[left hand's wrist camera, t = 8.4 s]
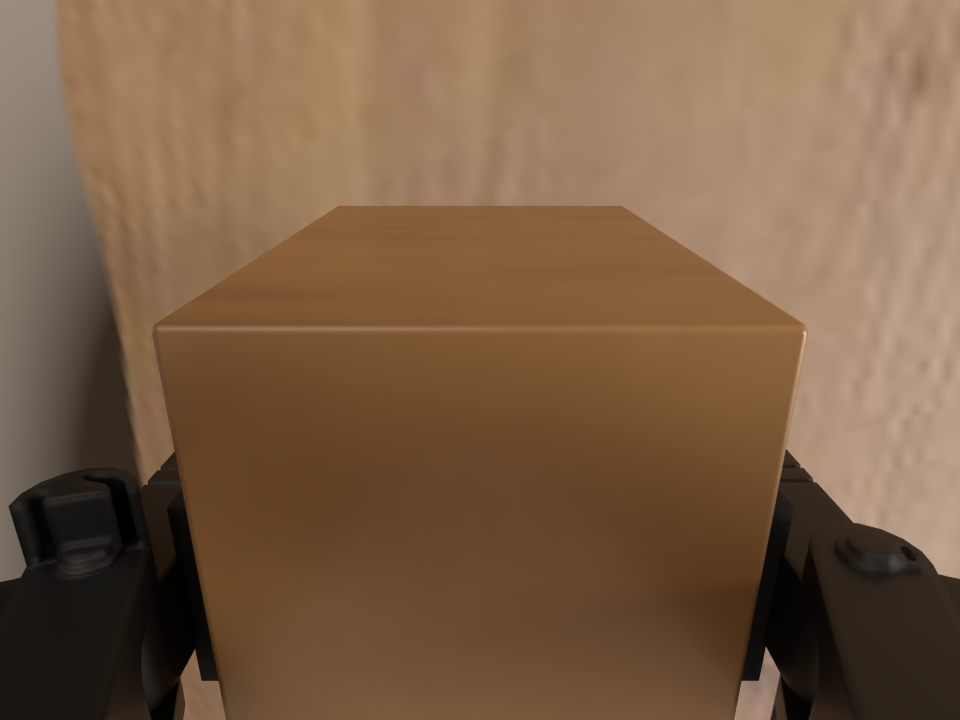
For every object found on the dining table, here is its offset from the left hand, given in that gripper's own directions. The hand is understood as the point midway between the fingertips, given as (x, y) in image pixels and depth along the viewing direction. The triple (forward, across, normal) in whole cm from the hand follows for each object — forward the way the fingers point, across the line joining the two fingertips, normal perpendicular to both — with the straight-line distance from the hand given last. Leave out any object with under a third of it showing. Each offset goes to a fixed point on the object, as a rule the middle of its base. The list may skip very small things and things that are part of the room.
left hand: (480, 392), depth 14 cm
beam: (0, 0, -29) cm, 29 cm away
